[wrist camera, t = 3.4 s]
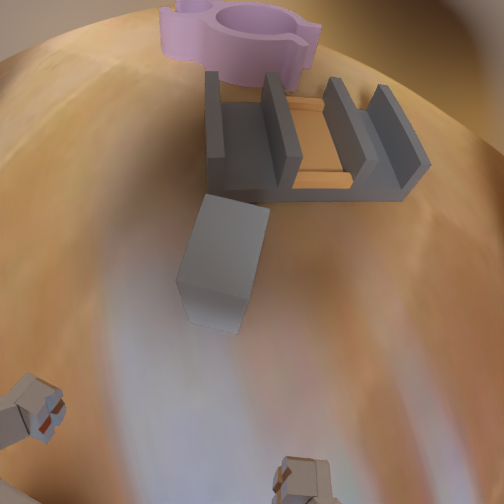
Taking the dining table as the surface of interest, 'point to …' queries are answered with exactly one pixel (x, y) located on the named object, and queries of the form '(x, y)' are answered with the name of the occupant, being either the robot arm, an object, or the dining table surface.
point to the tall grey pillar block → (221, 262)
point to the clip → (240, 40)
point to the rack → (309, 146)
